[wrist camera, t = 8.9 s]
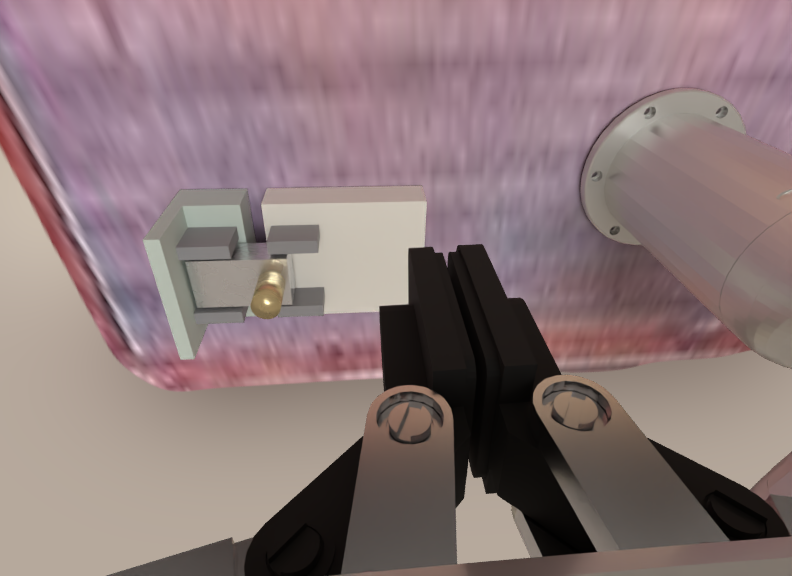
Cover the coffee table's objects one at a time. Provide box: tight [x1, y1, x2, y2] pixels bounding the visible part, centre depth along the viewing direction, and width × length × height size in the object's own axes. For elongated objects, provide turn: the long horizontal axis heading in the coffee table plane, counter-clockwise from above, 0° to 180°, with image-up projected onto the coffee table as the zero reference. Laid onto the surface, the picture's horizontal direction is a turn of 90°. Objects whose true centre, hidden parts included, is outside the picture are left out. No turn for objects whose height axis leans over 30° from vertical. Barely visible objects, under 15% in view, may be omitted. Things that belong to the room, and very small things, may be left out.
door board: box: [261, 186, 427, 317], centre depth 38 cm, size 12×10×6 cm
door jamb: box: [143, 189, 256, 360], centre depth 36 cm, size 5×10×8 cm, turn 179°
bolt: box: [185, 243, 296, 319], centre depth 35 cm, size 7×4×6 cm, turn 89°
